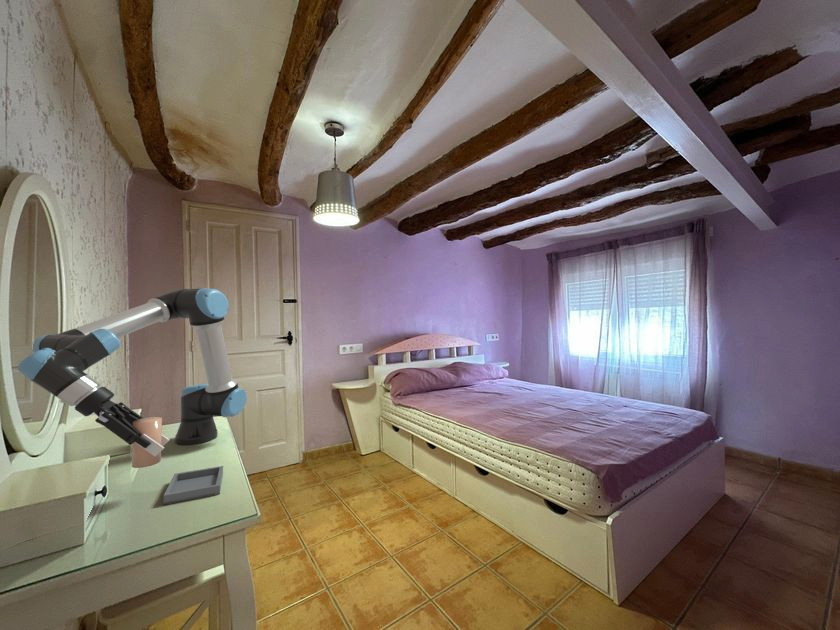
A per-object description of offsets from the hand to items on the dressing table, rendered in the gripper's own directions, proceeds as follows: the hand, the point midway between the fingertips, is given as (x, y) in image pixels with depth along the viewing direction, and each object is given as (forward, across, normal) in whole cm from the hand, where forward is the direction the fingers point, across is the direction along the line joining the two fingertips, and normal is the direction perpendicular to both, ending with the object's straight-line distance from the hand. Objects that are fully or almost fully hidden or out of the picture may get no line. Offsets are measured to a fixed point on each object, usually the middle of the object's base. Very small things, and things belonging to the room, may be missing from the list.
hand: (162, 447), depth 95 cm
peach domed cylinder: (0, 0, -5) cm, 5 cm away
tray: (+15, 0, -3) cm, 16 cm away
